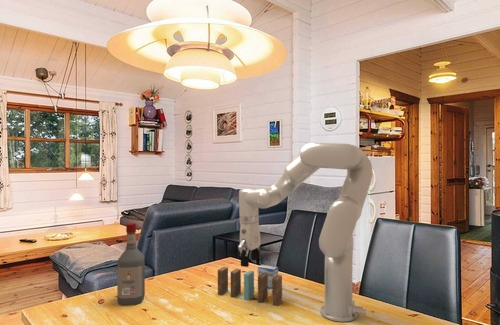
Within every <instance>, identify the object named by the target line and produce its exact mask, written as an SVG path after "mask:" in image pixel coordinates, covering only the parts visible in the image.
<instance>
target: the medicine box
mask: <svg viewBox="0 0 500 325" xmlns="http://www.w3.org/2000/svg"><path fill="white" fill-rule="evenodd" d="M262 273H268V290H272V278H274V277H275V276H276V275H279V267H278V266H272V265H265V264H261V265H259V266H258V267H257V277H258V276H259V275H260V274H262Z"/></svg>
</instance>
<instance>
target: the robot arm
mask: <svg viewBox="0 0 500 325" xmlns="http://www.w3.org/2000/svg"><path fill="white" fill-rule="evenodd" d="M320 169H332V170H333V169H335V170H346V176H345V179H344V180H343V181H344V182H343V184H342V188H341V190H340V193H339V197H338V198H337V199H336V200H334V201H333V202H332V203H331V205H330V206H329V209H328V211H327V214H326V217H325V220H324V223H323V224H322V225H323V226H322V229H321V232H320V235H319V238H318V246H319V249H320V251H321V252H322V254H323V255H324V305H322V306H321V307H320V310H319V311H320V315H321V316H322V317H324V318H325V319H328V320H330V321H333V322H340V323H341V322H342V323H344V322H352V321H354V320H356V319H357V318H358V315H363V316H366V312H367V311H366V308H364V306H361V305H357V304H355V300H353V261H354V260H353V257H354V254H353V253H354V235H353V233H354V231H355V228H356V225H357V222H359V219H360V218H361V216H362V212H363V208H364V205H365V202H366V199H367V196H368V192H369V189H370V186H371V182H372V179H373V166H372V162H371V160H370V158H369V156H368V155H367V154H366V153H365V152H364V151H363V150H362V149H361V147H358V146H357V145H354V144H350V143H334V142H333V143H331V142H314V141H313V142H308V143H306V144H304V145H303V146H302V148H301V149H300V151H299V154H298V156H296V157H295V158H294V159H293V160H291V161H290V162H289V163H288V164H287V165H286V166H285V168H284V171H283V173H282V175H281V177H280V178H278V180H276V181H275V182H274V183H273V184H272V185H270V186H269V187H263V188H260V189H256V188H250V187H249V188H241V189H240V190H239V191H238V192H239V193H238V201H239V203H238V204H239V205H238V206H239V224H240V229H239V244H238V247H237V249H238V252H239V257H240V266H241V267H245V268H248V267H249V266H250V264H249V256H248V255H249V251H251V260H253V261H260V248H261V247H260V246H261V243H262V242H261V240H262V239H261V229H260V225H259V224H260V221H259V217H260V216H259V209H268V208H270V207H273V206H276V205H279V203H281V202H283V200H284V199H286V198H287V197H288V196H290V195H291V194H292V193H293V192H294V191H295V190H296V189H298V187H299V186H300V185H301V184H303V183H304V182H305V181H306V180H307V179H309V178H310V177H311V176H313V174H315V173H316V172H318V170H320Z"/></svg>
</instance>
